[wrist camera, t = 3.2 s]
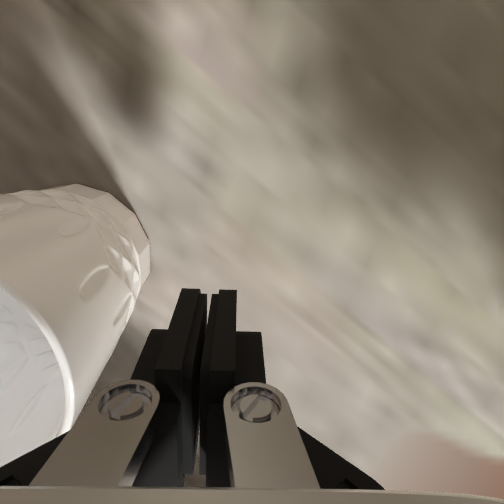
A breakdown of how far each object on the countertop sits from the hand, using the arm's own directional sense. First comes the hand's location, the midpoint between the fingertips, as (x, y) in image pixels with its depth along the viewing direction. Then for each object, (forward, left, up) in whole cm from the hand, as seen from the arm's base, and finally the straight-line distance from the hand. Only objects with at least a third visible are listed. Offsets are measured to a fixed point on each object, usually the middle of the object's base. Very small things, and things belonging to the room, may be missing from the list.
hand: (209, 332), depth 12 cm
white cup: (+7, 0, -8) cm, 11 cm away
